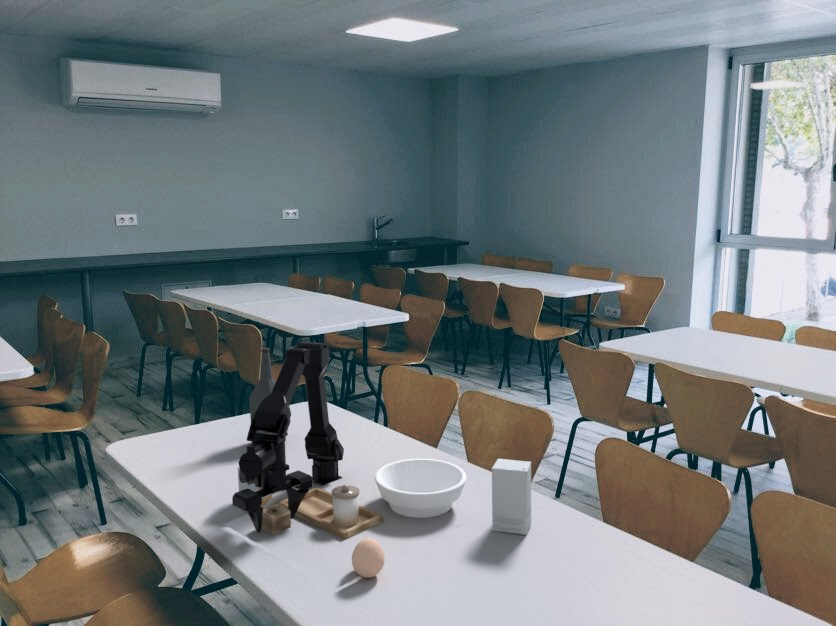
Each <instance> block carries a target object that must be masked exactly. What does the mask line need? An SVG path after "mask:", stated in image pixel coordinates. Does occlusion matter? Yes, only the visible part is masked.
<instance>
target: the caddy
mask: <svg viewBox="0 0 836 626" xmlns="http://www.w3.org/2000/svg"><path fill="white" fill-rule="evenodd" d="M278 505H280V506H282V507H284V508H286V509H288V498H285V499H282V500H280V501H278ZM294 517H298V518H300V519H301V520H304V521H305V522H307V523H309V524H311V525H314V526H316V527H317V528H318V527H319V528H320V529H323V530H324V531H327V532H328V533H331V534H333V535H335V536H337V537H339V538H341V539H342V540H347V539H348V538H351V537H353V536H355V535H358V534H359V533H362V532H363V531H366V530H369V529H370V528H373V527H375V526H377V525H378V524H380V523H382V522H384V515H383V514H380V513H378V512H375V511H374V510H371V509H369V508H366V507H364V506H362V505H360V504H359V522H358V524H357V525H355V526H352V527H338V526H336V525H334V524H333V496H332V492H329V491H327V490H324V489H322V488H320V487H318V486H316V487H314V488H313V487H312V488H310V489H309V492H307V493H306V495H305V496H304V498H303V500H302V502H301V504H300V506H299V508H298V510H297V512H296V514H295V516H294Z"/></svg>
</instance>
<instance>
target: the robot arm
mask: <svg viewBox="0 0 836 626" xmlns="http://www.w3.org/2000/svg"><path fill="white" fill-rule="evenodd" d="M284 357H285V359H284V361H283V364H282V366H281V368H280V371H279V373H278V375H277V378H276V380H275V384H274V387H273V389H272V391H271V393H270V395H269V396H268V397H266V398H265V399H263V400H262V401H261V402H260V404H259V406H258V407H257V409H256V411H255V412H254V414H253V417H252V421H251V420H250V425H249V429H248V433H247V437H246V441H248V442H251V441H253V444H252V443H251V444H248V445H247V446H246V451H245V452H244V453H242V454H241V456H240V457H239V460H238V467H239V468H240V470H239V479H240V482H241V483H247V484H248V485H250V484H254V483H255V486H256V487H261V490H259V491H256V492H254V491H252V490H250V489H245V490H242V491H239V490H238V491H237V492H235V493H234V494H232V497H231V498H232V499H231V500H232V501H231V502H232V506H234V507H235V508H238V509H240V510H242V511H243V512H246V513H247V514H248V516H249V518H250V520H251V523H252V525H253V526H254V529H255V531H256V532H257V533H258V534H259V533H261V531H262V529H261V528H262V517H263V509H264V507H260V506H261V504H262V499H263V498H265V497H268V496H271V495H272V496H274V495H276V494H278V493H281V492H283V491H285V492H286V494H287V499H288V510H290V520H293V519H295V517H296V516H295V514H296V512H297V510H298V508H299V506H300V504H301V502H302V500H303V498H304V496H305V495H306V493H307V492H309V490H311V489H313V487H314V482H315V483H317V484H319V485H322V486H326V485H328V484H330V483H333V482H335V481H339V480H341V479H343V476H341V475H339V461H343V460H344V459H343V458H344V453H345V452H344V450H345V449H344V446H343V445H342V444H341V442H340V440H339V439H338V438H339V437H338V434H337V430H336V429H335V428H334V427H333V425H332V424H331V423H330V418H329V410H328V402H327V401H328V400H327V392H326V383H325V371H326V369H327V368H328V367H329V366H328V365H329V363H330V357H331V350H330V348H329V346H328V345H327V344H325V343H324V342H314V341H313V342H311V341H309V342H308V341H300V342H299V343H298V345H294V346H290V347H289V348H287V350H286V352H285V356H284ZM301 376H303V377H304V380H305V390H306V398H307V399H306V400H307V405H308V414H309V422H310V425H309V426H310V428H309V430H308V432H307V433H306V436H305V438H304V441H305V443H304V449H305V453H306V458H307V459H308V460H312V465H311V475H310V474H308V473H306V472H303V471H301V470H299V469H298V470H296V471H292V472H290V473H287V471H289V470H290V465H289V464H288V463H286V462H287V461H286V441H285V437H286V438H287V436H288V434H289V433H288V430H289V429H290V428H289V427H290V424H291V417H292V412H291V411H292V410H291V407H290V404H291V402H292V398H293V397H294V395H295V391H296V389H297V387H298V384H299V381H300V379H301ZM257 431H259V432H269V433H268V434H261V433H256V432H257Z"/></svg>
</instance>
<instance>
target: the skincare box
mask: <svg viewBox="0 0 836 626" xmlns="http://www.w3.org/2000/svg"><path fill="white" fill-rule="evenodd" d="M491 510H492V513H491V516H492V521H491V522H492V531H493V532H498V533H499V532H501V533H509V534H515V535H524V536H526V535H527V534H528V532H529V529H530V527H531V525H532V461H525V460H515V459H508V458H507V459H505V458H497V459H496V461H495V463H494V464H493V466H492V468H491Z"/></svg>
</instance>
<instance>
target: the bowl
mask: <svg viewBox="0 0 836 626" xmlns="http://www.w3.org/2000/svg"><path fill="white" fill-rule="evenodd" d="M374 481H375V482H376V483H375V484H376V486H377V488H378V491H379V494H380V496H381V497H382V499H383V500H384V501H385V502H388V504H389V507H390V509H391V510H392V511H393V512H394V513H396V514H398V515H401V516H403V517H404V516H405V517H408V518H414V519H415V518H417V519H427V518H433V517H437V516H438V517H439V516H441V515H444V514H446V513H447V512H448V511H450V509H451V508H452V506H453V503H455V502H456V501H457V500H458V499H459V498H460V497H461V495H462V492H463V489H464V486H465V485H466V481H467V474H466V472H465V470H463V468H462V467H460V466H458V465H456V464H454V463H452V462H448V461H444V460H440V459H433V458H409V459H408V458H407V459H402V460H396V461H393V462H390V463H388V464H385V465H384V466H383V465H382V467H380V468H379V469H378V470H377V471H376V472H375V475H374Z"/></svg>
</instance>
